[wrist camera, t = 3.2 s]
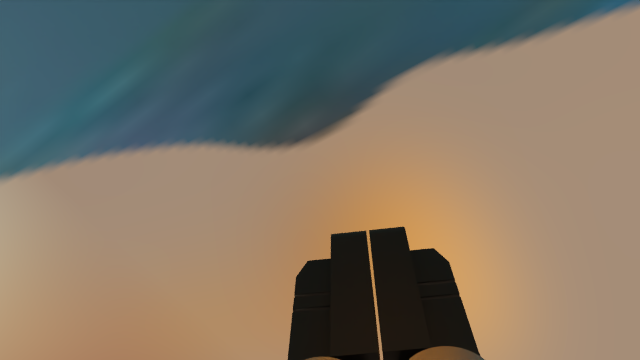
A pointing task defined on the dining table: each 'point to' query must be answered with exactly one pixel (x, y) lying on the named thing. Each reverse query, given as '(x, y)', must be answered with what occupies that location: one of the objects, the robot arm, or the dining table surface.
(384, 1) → the dining table surface
